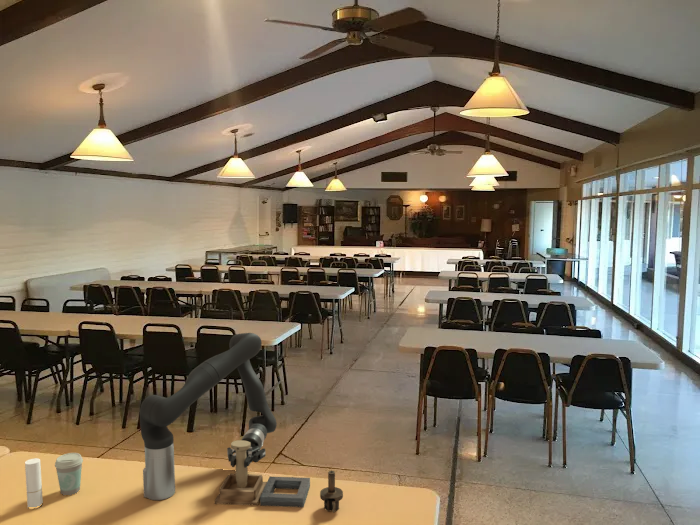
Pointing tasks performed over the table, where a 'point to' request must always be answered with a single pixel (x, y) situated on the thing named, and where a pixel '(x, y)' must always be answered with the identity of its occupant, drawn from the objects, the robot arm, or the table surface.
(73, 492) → the coffee cup
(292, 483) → the socket block
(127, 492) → the table surface
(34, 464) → the tube
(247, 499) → the tray
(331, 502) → the industrial component
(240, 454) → the handle
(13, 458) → the table surface
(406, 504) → the table surface
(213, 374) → the robot arm
